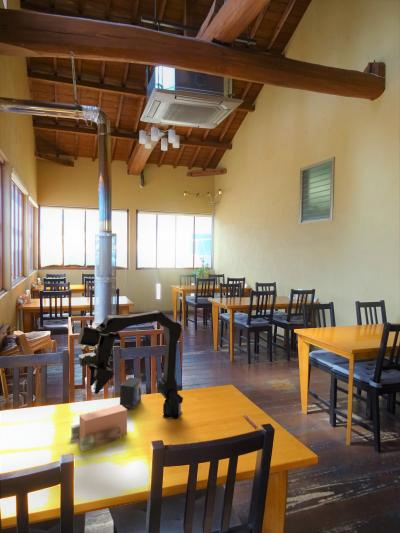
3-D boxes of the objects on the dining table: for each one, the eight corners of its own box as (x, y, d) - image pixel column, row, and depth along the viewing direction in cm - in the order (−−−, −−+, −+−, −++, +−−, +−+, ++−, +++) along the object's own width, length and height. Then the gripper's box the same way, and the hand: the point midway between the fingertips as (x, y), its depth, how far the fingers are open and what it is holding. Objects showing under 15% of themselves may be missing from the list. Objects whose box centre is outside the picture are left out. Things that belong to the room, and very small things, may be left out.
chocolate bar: (247, 417, 153) (247, 412, 153) (261, 430, 142) (261, 425, 142) (242, 418, 152) (242, 412, 152) (255, 431, 141) (255, 426, 141)
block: (120, 427, 142) (120, 404, 142) (126, 433, 138) (127, 409, 137) (79, 439, 133) (79, 415, 132) (84, 446, 128) (84, 420, 128)
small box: (133, 410, 157) (133, 386, 156) (119, 408, 158) (119, 385, 158) (142, 400, 167) (142, 378, 167) (128, 399, 169) (128, 376, 168)
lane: (107, 426, 142) (107, 416, 142) (120, 439, 133) (120, 428, 133) (71, 437, 134) (71, 426, 134) (81, 451, 125) (81, 439, 124)
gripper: (79, 339, 143) (68, 378, 142) (88, 351, 127) (75, 396, 125) (107, 344, 148) (96, 382, 147) (119, 356, 132) (107, 399, 130)
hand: (93, 389), depth 137 cm, fingers open, 9 cm apart
